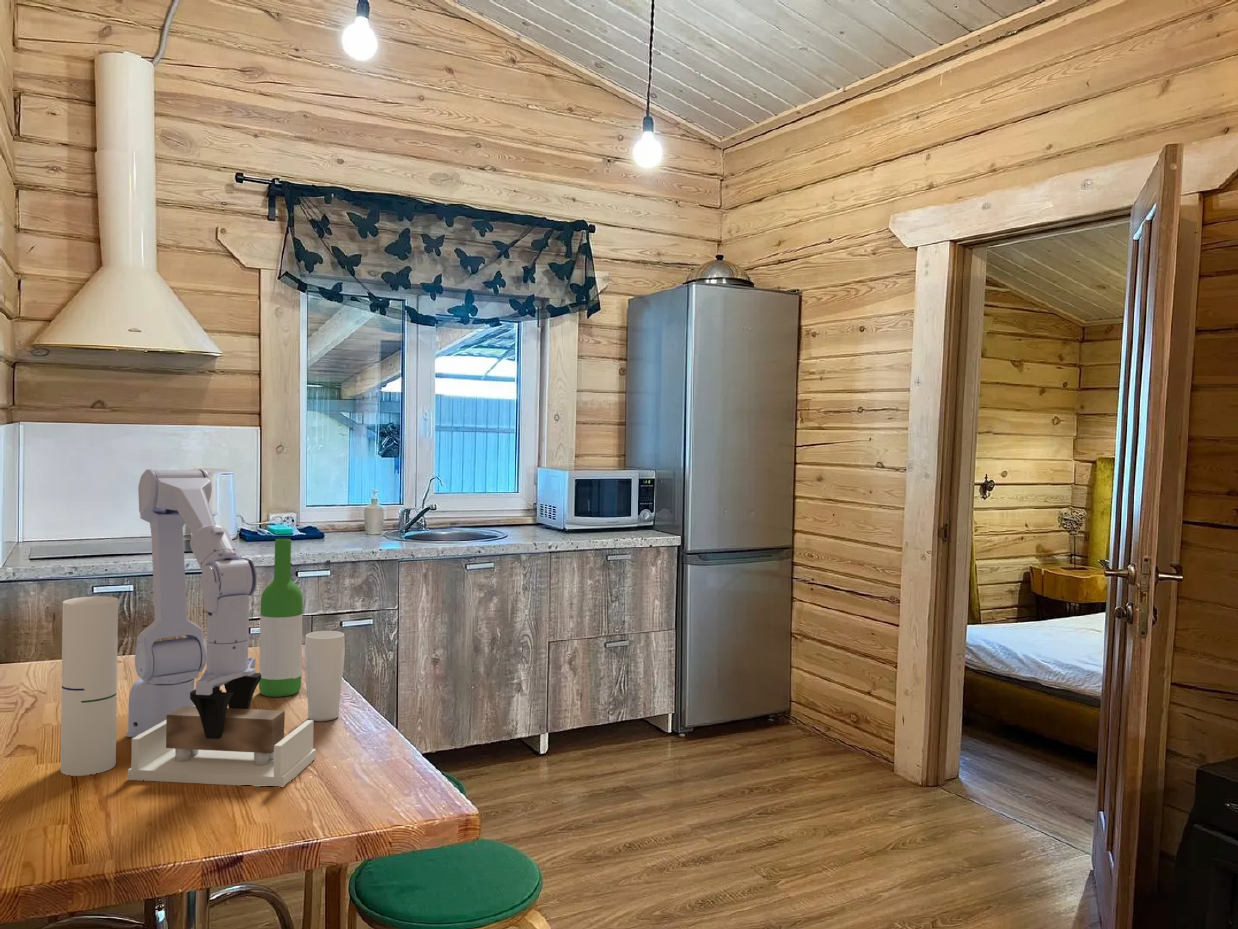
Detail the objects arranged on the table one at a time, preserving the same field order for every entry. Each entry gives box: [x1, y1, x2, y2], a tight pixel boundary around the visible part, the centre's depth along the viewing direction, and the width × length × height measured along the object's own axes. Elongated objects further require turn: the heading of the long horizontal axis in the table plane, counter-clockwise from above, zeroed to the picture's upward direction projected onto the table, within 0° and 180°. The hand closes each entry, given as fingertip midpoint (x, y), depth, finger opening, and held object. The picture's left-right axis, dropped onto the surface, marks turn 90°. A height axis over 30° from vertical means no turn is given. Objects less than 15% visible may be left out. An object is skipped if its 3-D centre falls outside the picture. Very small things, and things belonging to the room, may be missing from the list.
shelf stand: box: [127, 719, 317, 786], centre depth 137 cm, size 23×12×6 cm, turn 87°
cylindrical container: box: [60, 595, 119, 777], centre depth 135 cm, size 7×7×25 cm
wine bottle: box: [258, 538, 304, 698], centre depth 177 cm, size 8×8×30 cm
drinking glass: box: [304, 630, 346, 722], centre depth 162 cm, size 7×7×15 cm
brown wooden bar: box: [166, 706, 286, 753], centre depth 137 cm, size 16×4×5 cm, turn 87°
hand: (226, 729), depth 137 cm, fingers open, 7 cm apart
